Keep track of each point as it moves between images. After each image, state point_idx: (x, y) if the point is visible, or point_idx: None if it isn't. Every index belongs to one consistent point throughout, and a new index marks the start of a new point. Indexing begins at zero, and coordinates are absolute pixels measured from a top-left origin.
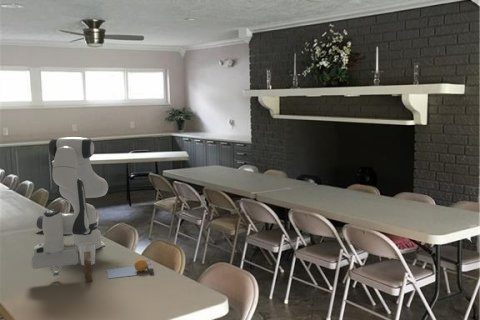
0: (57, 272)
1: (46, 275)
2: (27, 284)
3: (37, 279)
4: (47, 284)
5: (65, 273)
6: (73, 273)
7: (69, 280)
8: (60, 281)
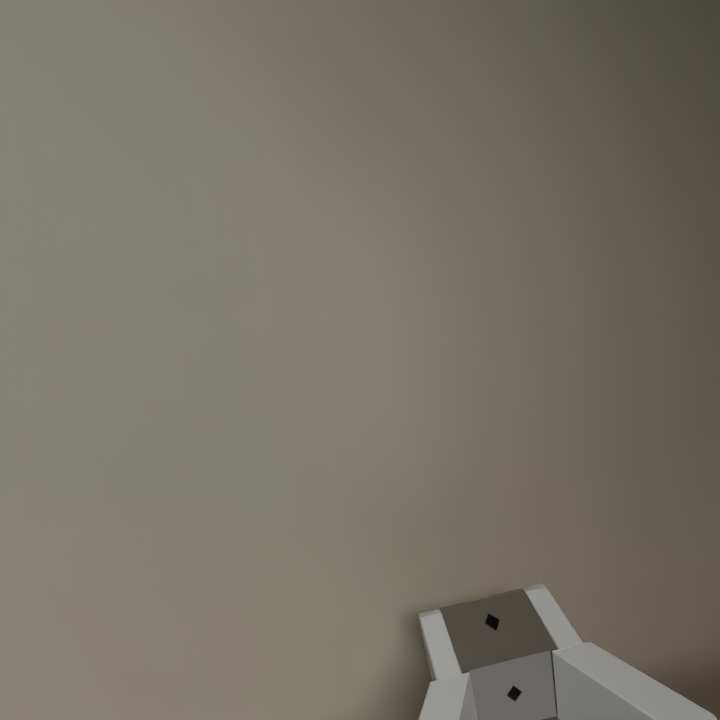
0: (541, 708)
1: (183, 292)
2: (25, 701)
3: (91, 500)
4: (355, 707)
5: (553, 225)
6: (701, 253)
7: (644, 583)
8: None
